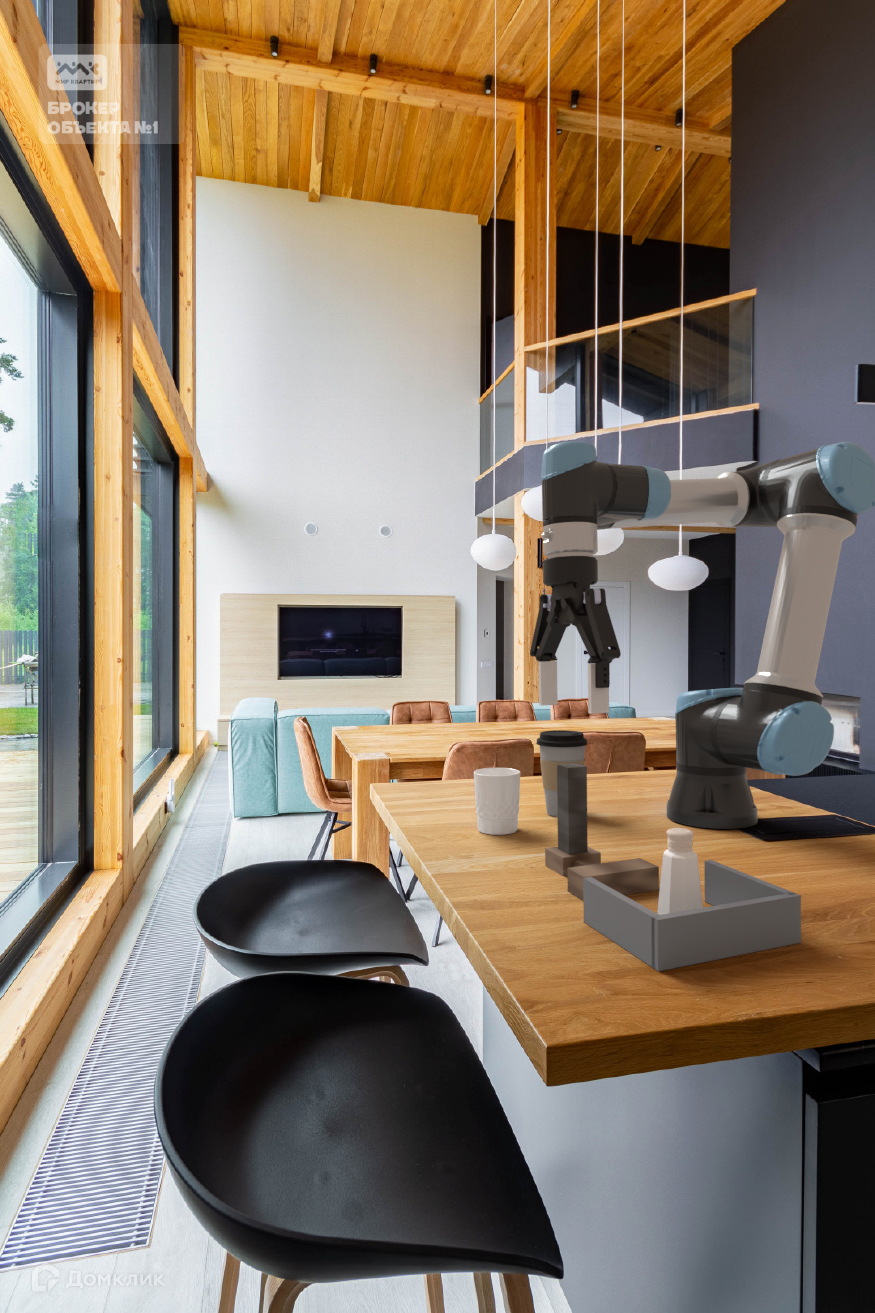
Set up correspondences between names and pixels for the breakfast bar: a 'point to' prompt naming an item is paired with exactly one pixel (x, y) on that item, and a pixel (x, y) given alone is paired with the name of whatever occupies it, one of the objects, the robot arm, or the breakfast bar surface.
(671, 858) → the salt shaker
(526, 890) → the breakfast bar surface
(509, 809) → the white cup
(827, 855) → the breakfast bar surface
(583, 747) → the coffee cup
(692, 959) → the box
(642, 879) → the block post with base
